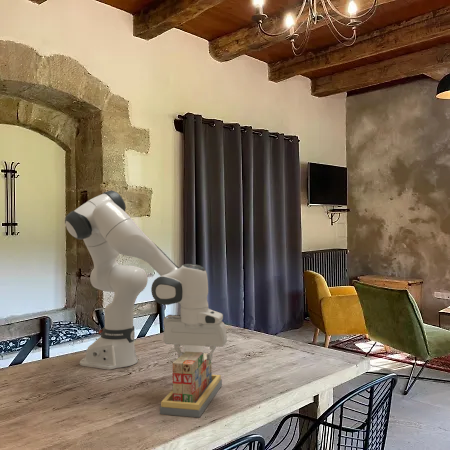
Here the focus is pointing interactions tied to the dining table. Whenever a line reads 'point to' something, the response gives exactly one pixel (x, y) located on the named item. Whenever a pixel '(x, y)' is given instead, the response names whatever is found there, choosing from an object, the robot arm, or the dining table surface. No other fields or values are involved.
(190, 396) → the stack of blocks
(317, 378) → the dining table surface
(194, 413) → the yellow and grey tray
